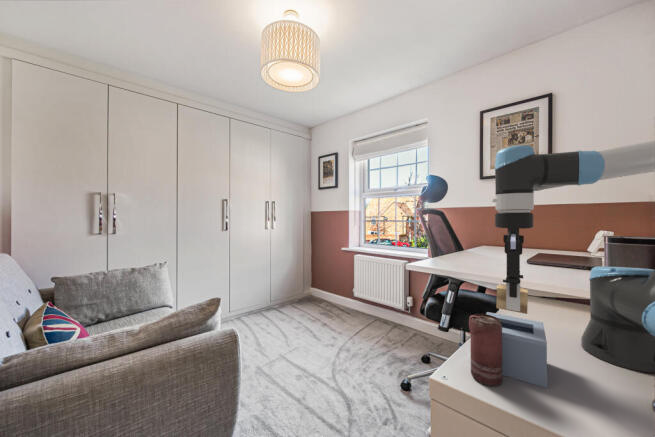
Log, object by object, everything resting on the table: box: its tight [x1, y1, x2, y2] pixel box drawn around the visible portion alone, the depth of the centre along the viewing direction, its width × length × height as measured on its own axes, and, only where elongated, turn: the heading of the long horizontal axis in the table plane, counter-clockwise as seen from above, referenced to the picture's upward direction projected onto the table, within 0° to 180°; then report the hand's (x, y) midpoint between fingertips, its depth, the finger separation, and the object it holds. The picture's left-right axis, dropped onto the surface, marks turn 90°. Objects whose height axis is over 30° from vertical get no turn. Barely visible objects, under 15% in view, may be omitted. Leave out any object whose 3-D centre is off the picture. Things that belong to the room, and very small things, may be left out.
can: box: [468, 313, 503, 387], centre depth 58 cm, size 6×6×14 cm
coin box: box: [485, 311, 548, 389], centre depth 63 cm, size 12×12×10 cm
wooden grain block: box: [495, 283, 529, 315], centre depth 62 cm, size 6×4×5 cm, turn 53°
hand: (513, 306), depth 62 cm, fingers closed on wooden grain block, 4 cm apart
